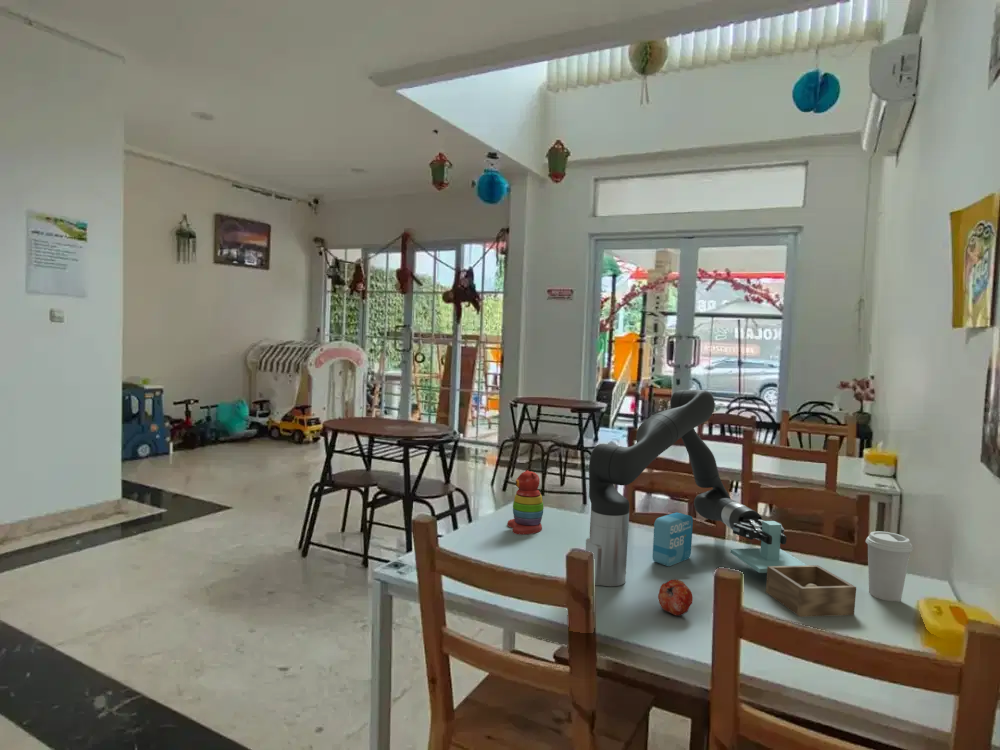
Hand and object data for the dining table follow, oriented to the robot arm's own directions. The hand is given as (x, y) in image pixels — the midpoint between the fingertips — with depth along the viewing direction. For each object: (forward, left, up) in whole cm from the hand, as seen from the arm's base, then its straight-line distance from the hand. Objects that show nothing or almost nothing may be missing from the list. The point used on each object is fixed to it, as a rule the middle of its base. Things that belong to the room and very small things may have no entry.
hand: (777, 540), depth 157 cm
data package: (-17, +20, -11) cm, 28 cm away
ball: (0, -12, -10) cm, 15 cm away
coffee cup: (+19, -14, -11) cm, 26 cm away
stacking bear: (-46, +54, -11) cm, 71 cm away
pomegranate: (-35, -8, -11) cm, 37 cm away
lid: (0, +3, -7) cm, 8 cm away
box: (-3, -13, -11) cm, 17 cm away
